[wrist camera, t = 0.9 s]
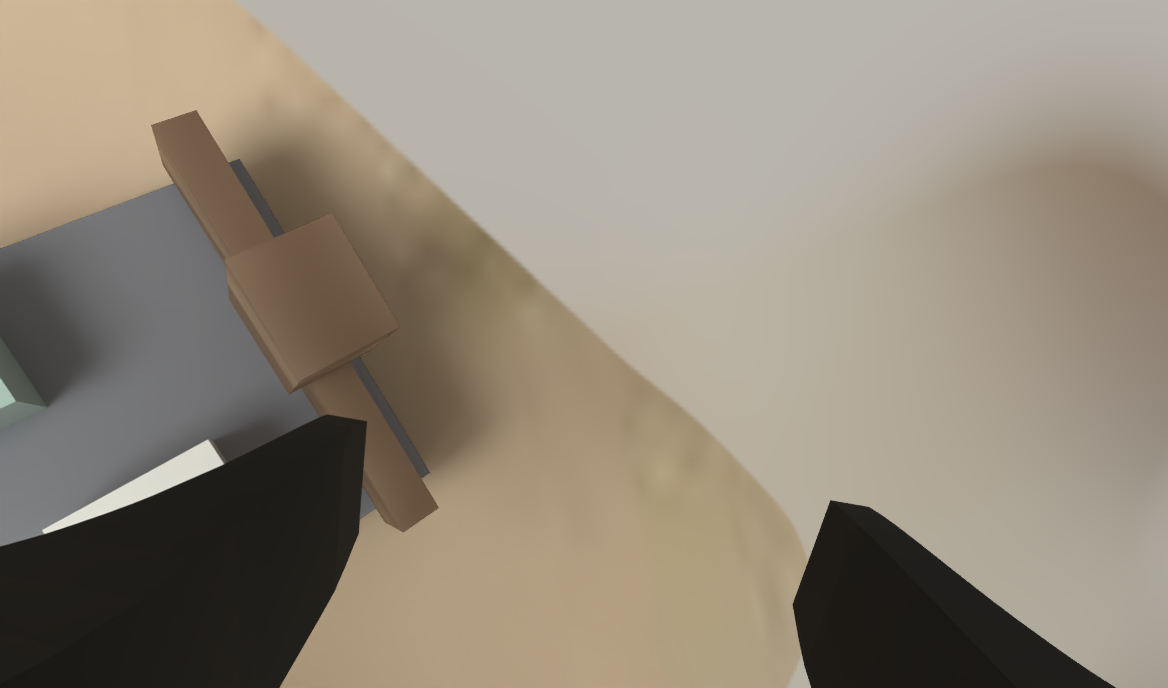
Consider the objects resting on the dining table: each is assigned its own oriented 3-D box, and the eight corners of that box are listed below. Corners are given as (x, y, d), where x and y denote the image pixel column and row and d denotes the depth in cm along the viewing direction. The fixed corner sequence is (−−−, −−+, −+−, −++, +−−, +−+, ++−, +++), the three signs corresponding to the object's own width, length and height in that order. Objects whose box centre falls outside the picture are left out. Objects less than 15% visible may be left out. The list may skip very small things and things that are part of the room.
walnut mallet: (367, 534, 22) (418, 571, 16) (141, 174, 21) (91, 45, 14) (433, 489, 23) (507, 506, 17) (223, 144, 22) (212, 11, 15)
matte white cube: (150, 636, 20) (135, 665, 17) (70, 518, 19) (41, 530, 17) (283, 549, 21) (289, 564, 19) (213, 440, 21) (207, 439, 18)
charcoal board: (43, 714, 20) (23, 740, 18) (-212, 356, 19) (-260, 346, 17) (417, 470, 26) (429, 472, 24) (239, 180, 24) (239, 159, 22)
